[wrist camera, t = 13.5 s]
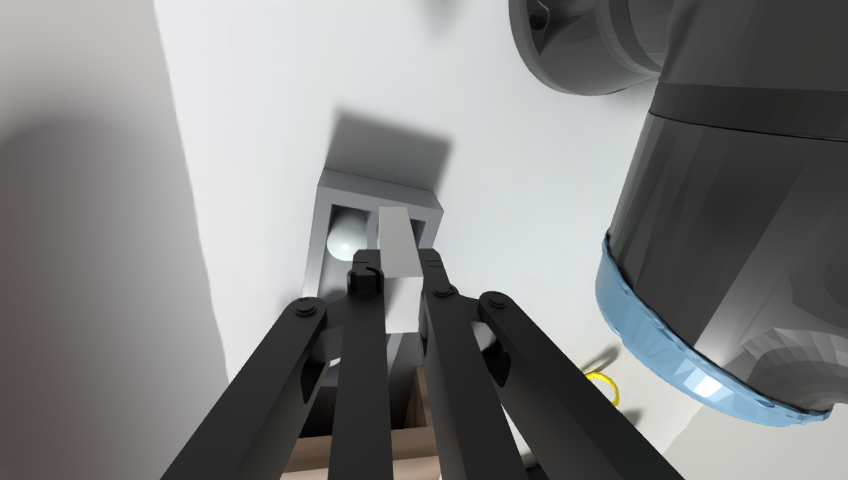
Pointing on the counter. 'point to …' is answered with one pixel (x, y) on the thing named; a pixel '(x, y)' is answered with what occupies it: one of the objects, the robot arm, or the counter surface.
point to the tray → (369, 203)
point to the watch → (608, 380)
